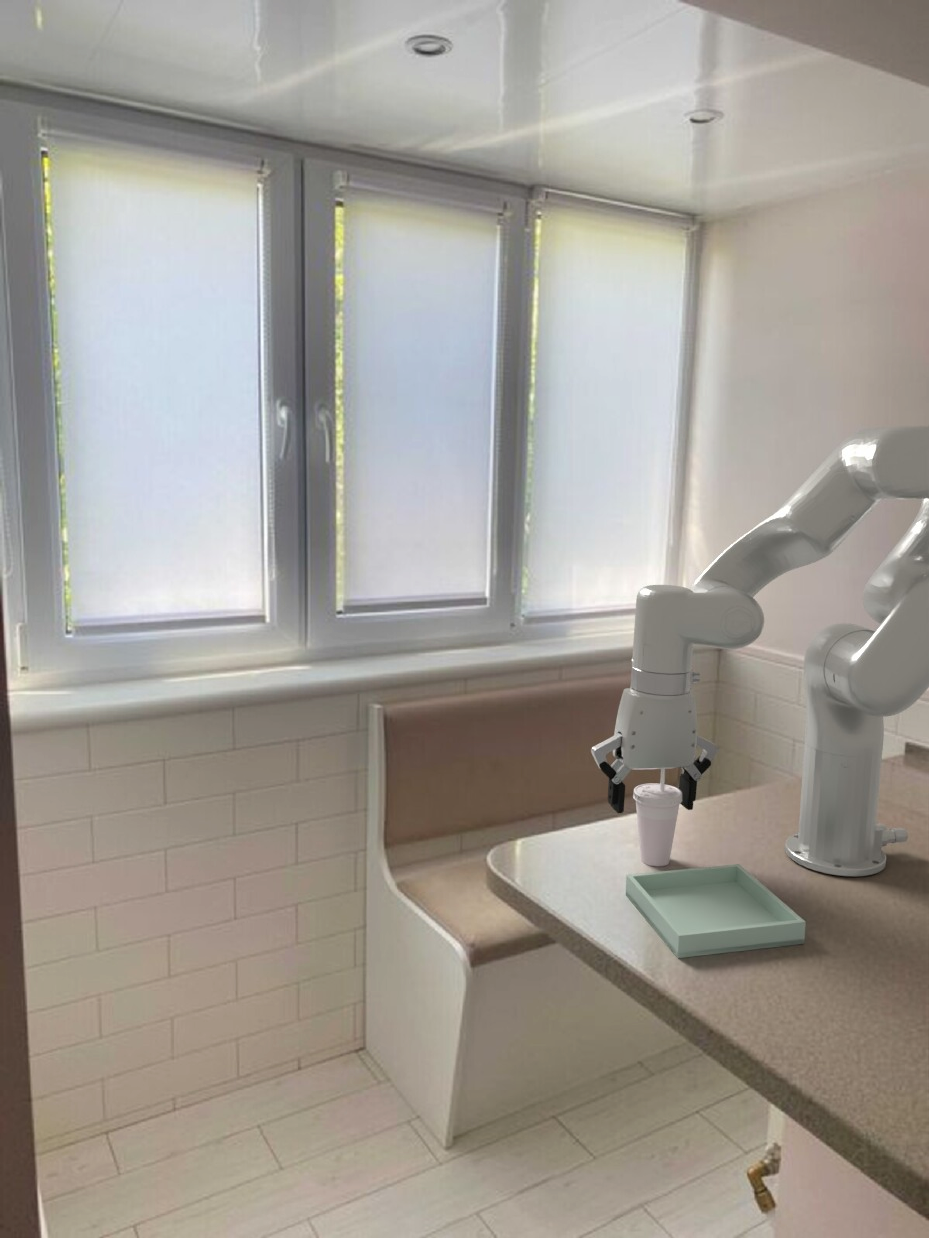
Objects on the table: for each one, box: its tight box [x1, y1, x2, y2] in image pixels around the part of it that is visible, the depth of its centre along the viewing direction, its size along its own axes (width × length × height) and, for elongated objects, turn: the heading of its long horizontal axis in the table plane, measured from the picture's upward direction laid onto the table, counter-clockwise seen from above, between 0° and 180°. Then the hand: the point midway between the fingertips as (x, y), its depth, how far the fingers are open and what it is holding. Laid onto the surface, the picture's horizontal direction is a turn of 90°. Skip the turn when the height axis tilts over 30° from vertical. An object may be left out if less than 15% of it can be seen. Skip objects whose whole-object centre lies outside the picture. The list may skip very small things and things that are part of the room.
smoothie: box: [632, 769, 683, 867], centre depth 123 cm, size 6×6×14 cm
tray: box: [625, 863, 807, 959], centre depth 109 cm, size 15×15×3 cm
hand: (651, 807), depth 123 cm, fingers open, 9 cm apart
